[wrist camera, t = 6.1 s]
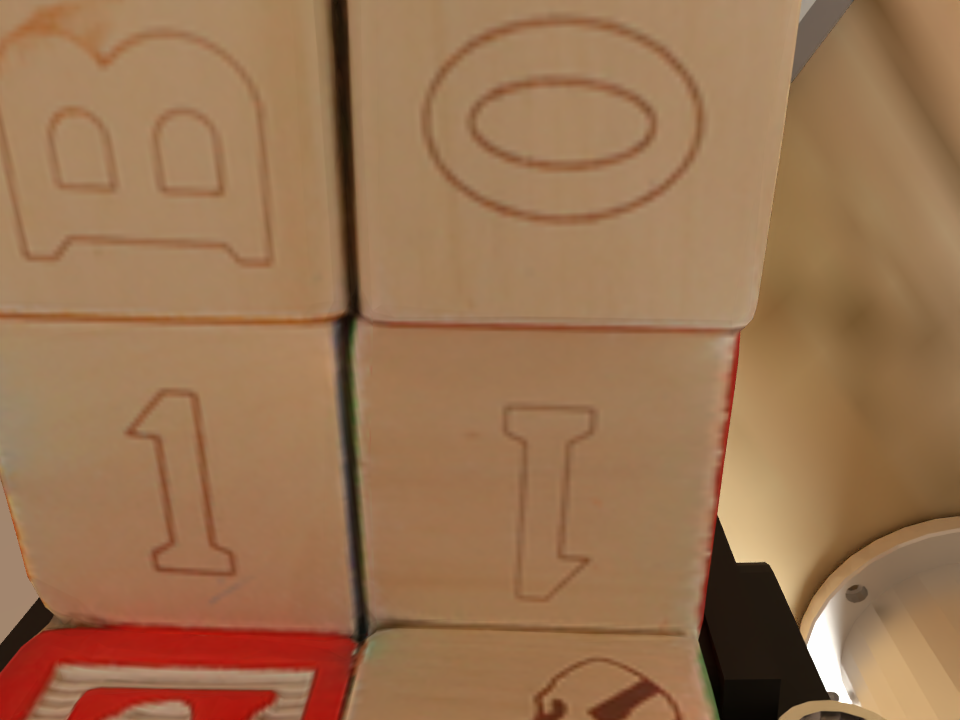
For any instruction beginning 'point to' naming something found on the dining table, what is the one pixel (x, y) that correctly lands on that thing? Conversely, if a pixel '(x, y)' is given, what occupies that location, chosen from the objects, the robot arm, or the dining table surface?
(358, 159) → the stack of blocks
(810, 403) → the dining table surface
